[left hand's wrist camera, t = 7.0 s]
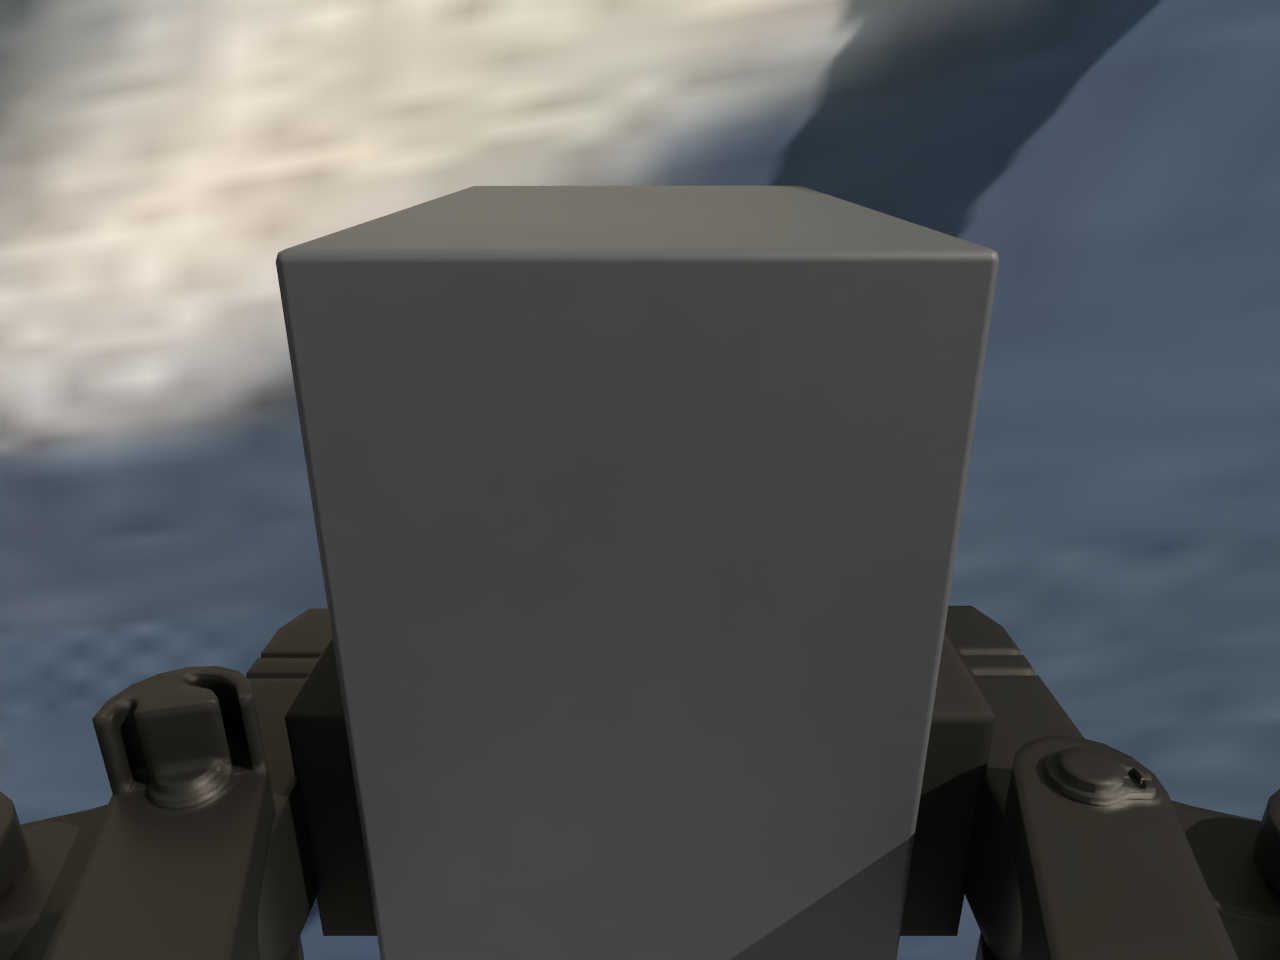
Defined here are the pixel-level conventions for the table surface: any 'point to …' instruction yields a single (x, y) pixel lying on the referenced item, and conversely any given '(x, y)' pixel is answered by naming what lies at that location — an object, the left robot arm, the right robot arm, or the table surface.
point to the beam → (638, 559)
